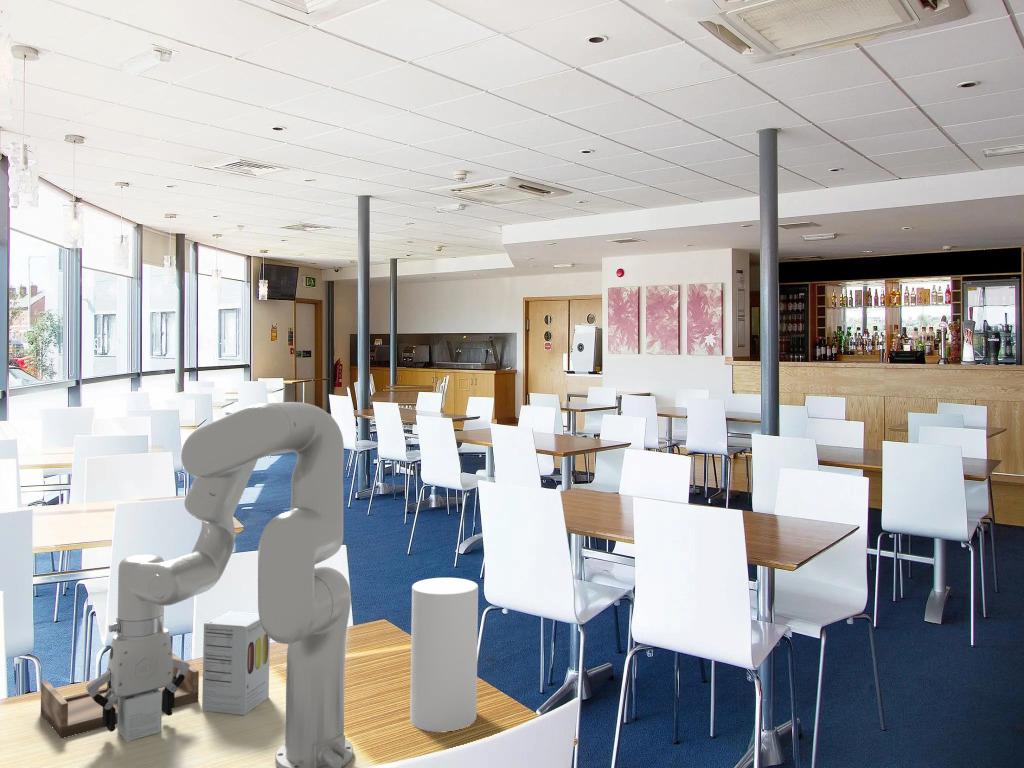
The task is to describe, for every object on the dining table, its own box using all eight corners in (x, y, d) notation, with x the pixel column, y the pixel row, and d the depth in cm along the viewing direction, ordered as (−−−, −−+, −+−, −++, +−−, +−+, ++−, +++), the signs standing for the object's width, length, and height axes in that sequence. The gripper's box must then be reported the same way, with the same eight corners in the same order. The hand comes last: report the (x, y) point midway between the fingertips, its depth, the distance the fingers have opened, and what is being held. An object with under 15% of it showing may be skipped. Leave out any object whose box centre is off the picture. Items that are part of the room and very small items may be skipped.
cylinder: (489, 714, 148) (491, 583, 148) (449, 738, 138) (451, 598, 138) (438, 699, 155) (439, 574, 155) (396, 721, 144) (398, 587, 145)
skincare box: (152, 721, 143) (152, 681, 143) (162, 733, 138) (162, 691, 138) (116, 730, 139) (117, 689, 139) (125, 742, 135) (125, 700, 135)
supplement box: (244, 716, 146) (245, 626, 146) (200, 711, 148) (201, 623, 148) (270, 696, 155) (271, 612, 155) (228, 692, 157) (229, 609, 157)
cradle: (198, 701, 152) (198, 670, 152) (61, 738, 135) (61, 704, 136) (171, 681, 162) (171, 652, 162) (40, 713, 146) (41, 681, 146)
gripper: (94, 641, 130) (92, 743, 130) (197, 620, 142) (195, 714, 142) (81, 630, 136) (79, 728, 136) (181, 611, 148) (180, 701, 148)
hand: (139, 720), depth 139 cm, fingers open, 9 cm apart
